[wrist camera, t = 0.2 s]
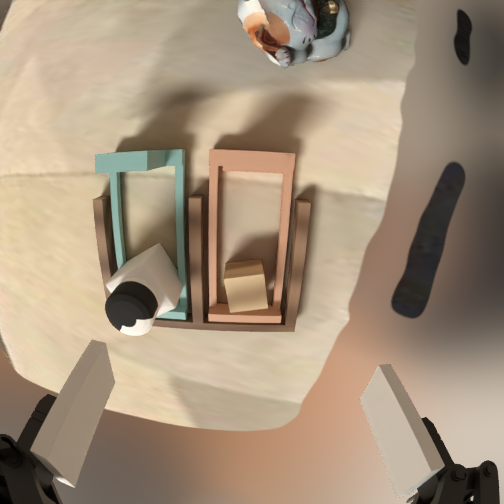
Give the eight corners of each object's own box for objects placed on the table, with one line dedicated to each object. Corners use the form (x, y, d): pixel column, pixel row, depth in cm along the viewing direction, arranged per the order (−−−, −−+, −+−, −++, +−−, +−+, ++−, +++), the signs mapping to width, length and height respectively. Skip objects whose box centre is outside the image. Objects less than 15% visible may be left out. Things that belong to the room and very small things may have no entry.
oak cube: (225, 263, 39) (223, 279, 35) (261, 258, 39) (264, 274, 35) (231, 294, 41) (230, 312, 37) (265, 289, 41) (268, 308, 37)
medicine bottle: (123, 263, 39) (87, 304, 28) (160, 241, 38) (130, 279, 27) (149, 300, 41) (124, 349, 30) (186, 282, 40) (168, 331, 29)
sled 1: (113, 152, 33) (79, 156, 24) (185, 149, 33) (167, 149, 25) (127, 303, 41) (106, 337, 33) (188, 308, 41) (178, 346, 33)
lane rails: (101, 196, 35) (92, 199, 33) (306, 199, 37) (310, 203, 34) (116, 313, 42) (111, 321, 40) (291, 322, 43) (294, 331, 41)
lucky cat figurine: (352, 70, 30) (348, 71, 20) (267, 68, 34) (224, 72, 24) (345, -23, 21) (335, -62, 11) (259, -20, 25) (213, -47, 15)
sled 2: (211, 149, 33) (201, 149, 25) (292, 153, 34) (308, 155, 26) (210, 309, 42) (204, 348, 33) (278, 311, 42) (286, 349, 34)
